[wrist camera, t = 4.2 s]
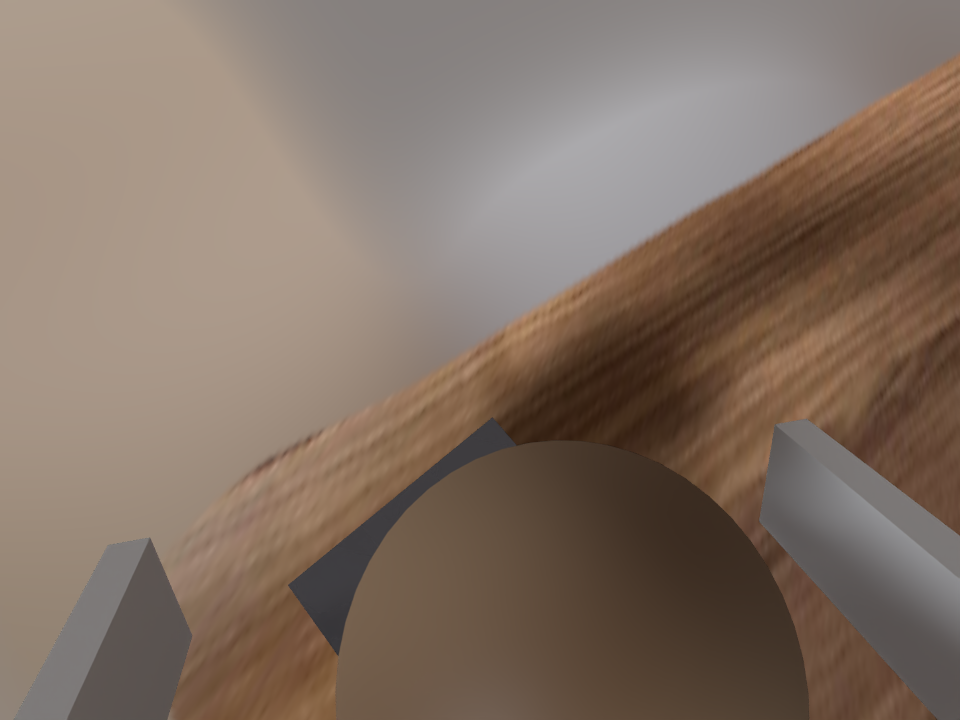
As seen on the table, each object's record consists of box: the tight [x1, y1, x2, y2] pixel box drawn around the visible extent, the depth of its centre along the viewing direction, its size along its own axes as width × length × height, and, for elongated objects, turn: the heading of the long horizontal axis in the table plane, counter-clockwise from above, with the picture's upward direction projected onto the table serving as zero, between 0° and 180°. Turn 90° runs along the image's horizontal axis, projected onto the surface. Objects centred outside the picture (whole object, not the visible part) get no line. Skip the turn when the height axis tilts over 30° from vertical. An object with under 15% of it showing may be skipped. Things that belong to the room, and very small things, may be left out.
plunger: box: [336, 440, 809, 720], centre depth 14 cm, size 5×5×16 cm
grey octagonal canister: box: [288, 417, 517, 656], centre depth 27 cm, size 12×11×12 cm
